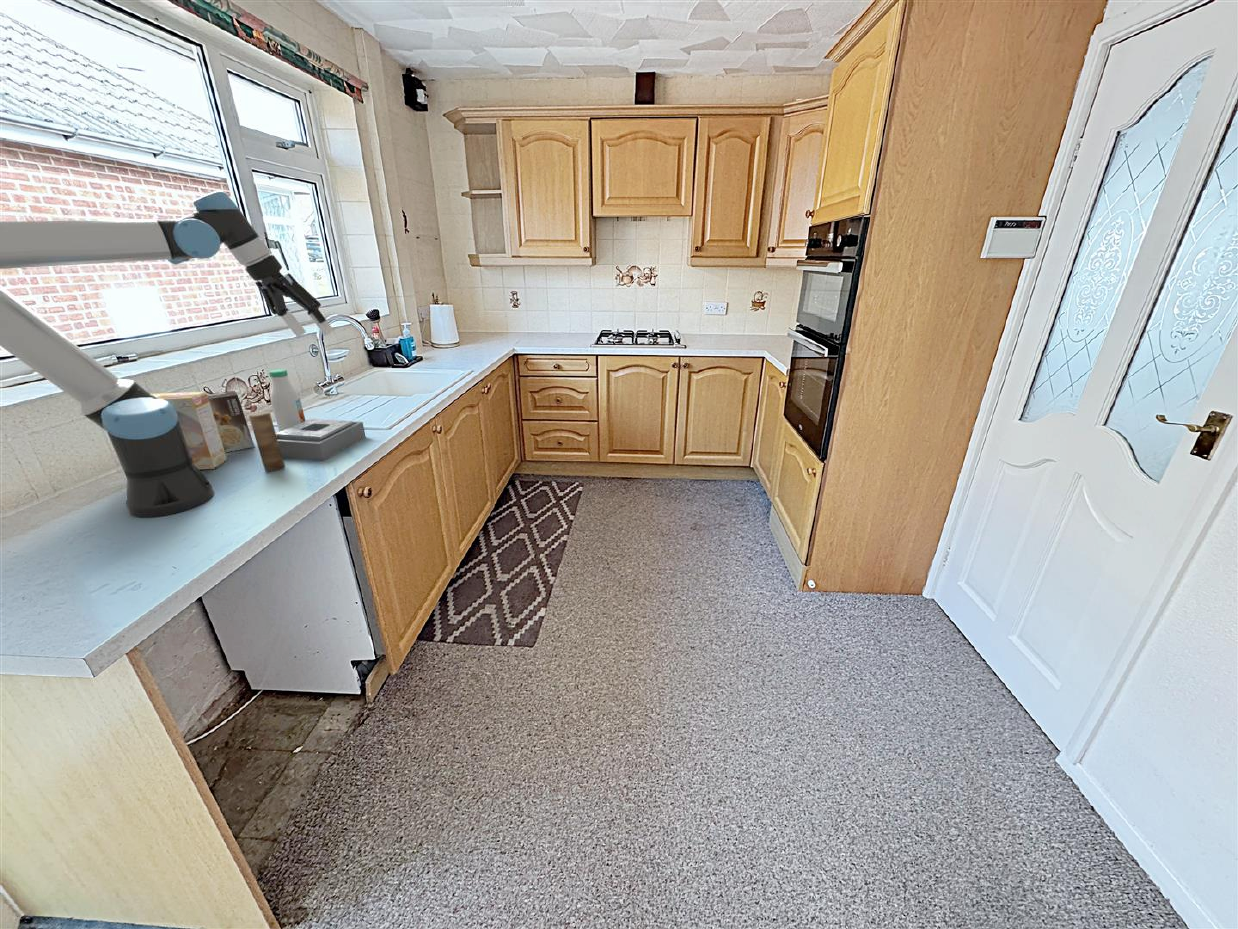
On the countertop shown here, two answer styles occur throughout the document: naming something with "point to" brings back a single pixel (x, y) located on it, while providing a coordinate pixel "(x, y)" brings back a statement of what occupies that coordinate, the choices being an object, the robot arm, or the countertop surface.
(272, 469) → the peg
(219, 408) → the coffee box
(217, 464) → the coffeecake box
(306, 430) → the bore block
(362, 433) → the grey socket base
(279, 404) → the milk bottle
